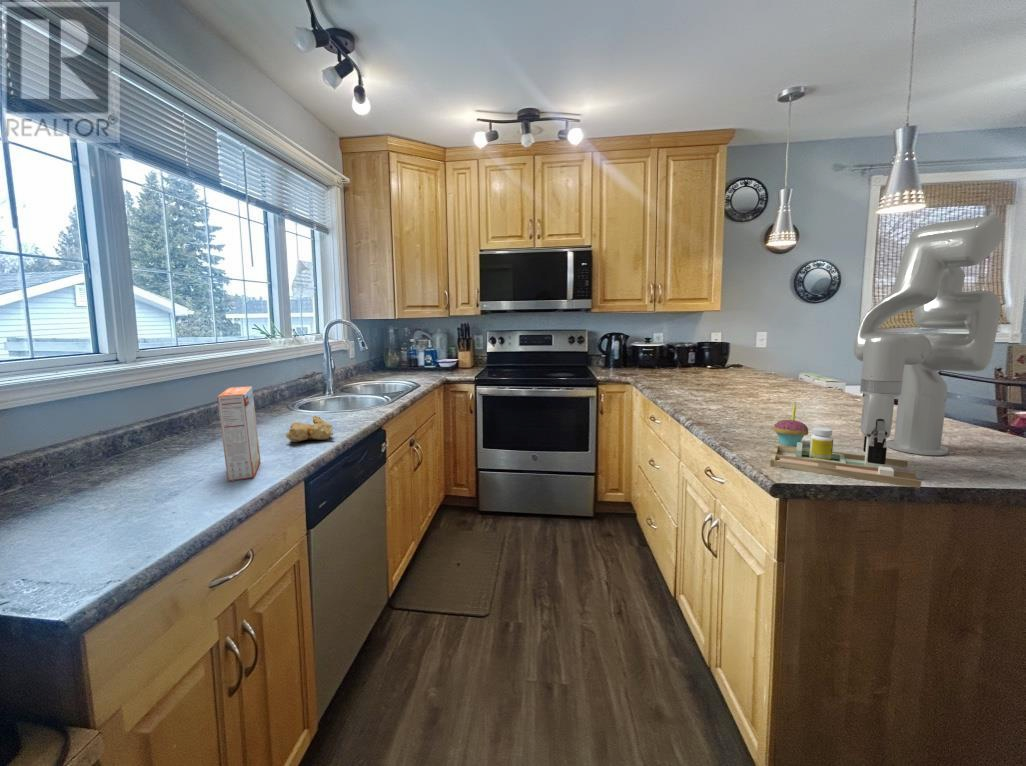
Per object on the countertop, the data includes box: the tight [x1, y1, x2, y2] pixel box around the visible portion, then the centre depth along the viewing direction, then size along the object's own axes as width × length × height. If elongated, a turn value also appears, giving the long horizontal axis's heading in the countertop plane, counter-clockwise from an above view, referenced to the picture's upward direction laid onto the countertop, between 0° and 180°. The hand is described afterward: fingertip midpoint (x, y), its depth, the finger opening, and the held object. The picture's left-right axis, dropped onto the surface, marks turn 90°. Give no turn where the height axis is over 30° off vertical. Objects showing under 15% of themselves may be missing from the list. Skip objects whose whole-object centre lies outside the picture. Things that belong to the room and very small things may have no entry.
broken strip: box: [780, 458, 895, 476], centre depth 105 cm, size 4×22×2 cm, turn 56°
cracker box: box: [216, 386, 261, 482], centre depth 111 cm, size 14×6×21 cm, turn 23°
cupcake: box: [773, 402, 809, 447], centre depth 128 cm, size 9×8×12 cm
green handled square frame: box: [795, 437, 883, 468], centre depth 111 cm, size 9×17×7 cm, turn 56°
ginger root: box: [285, 415, 334, 443], centre depth 142 cm, size 16×16×8 cm
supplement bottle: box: [808, 426, 834, 461], centre depth 113 cm, size 5×5×8 cm
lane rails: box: [769, 444, 922, 489], centre depth 109 cm, size 16×28×2 cm, turn 56°
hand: (873, 457), depth 107 cm, fingers open, 9 cm apart
